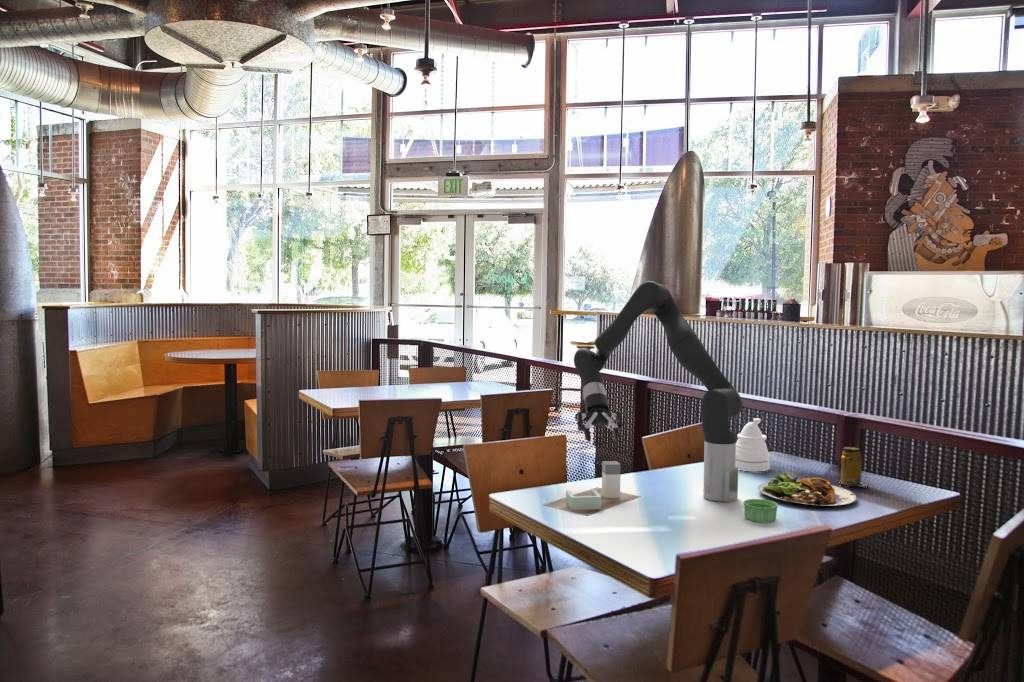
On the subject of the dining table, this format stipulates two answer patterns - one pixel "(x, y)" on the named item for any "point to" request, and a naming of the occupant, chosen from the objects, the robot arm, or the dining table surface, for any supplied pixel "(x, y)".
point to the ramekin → (760, 510)
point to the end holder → (583, 501)
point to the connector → (611, 479)
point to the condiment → (851, 466)
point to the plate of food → (806, 491)
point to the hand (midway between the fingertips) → (602, 440)
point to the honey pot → (752, 448)
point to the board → (605, 502)
